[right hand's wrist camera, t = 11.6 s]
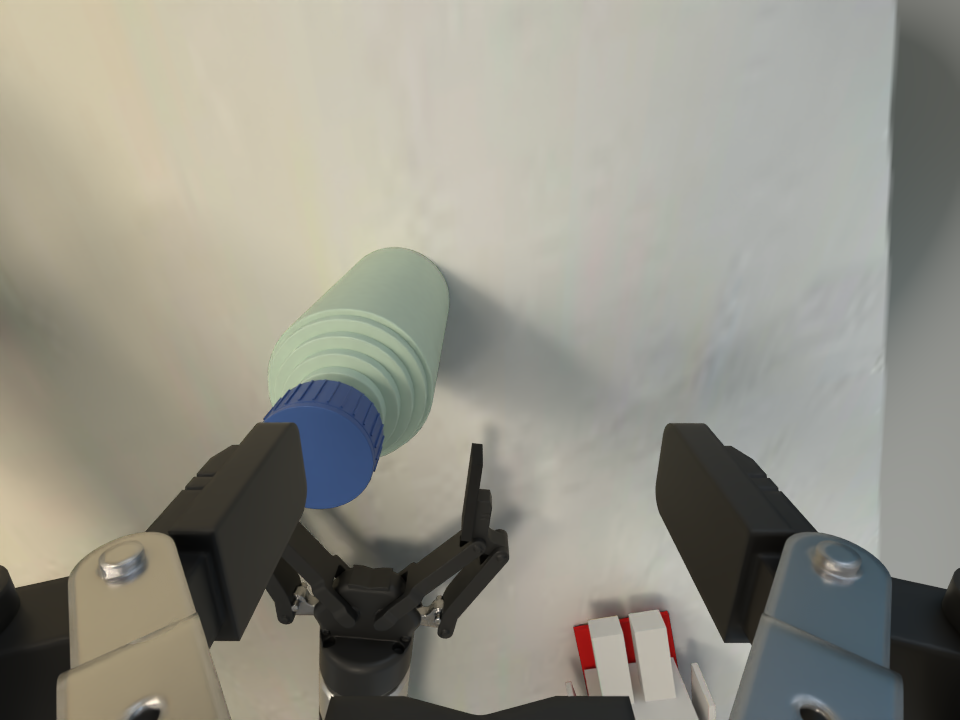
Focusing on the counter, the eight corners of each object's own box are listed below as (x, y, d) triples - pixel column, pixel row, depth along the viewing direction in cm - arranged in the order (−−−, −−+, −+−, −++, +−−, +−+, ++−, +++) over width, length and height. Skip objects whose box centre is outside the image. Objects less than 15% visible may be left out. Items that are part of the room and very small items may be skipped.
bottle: (409, 226, 37) (331, 313, 17) (469, 314, 39) (462, 479, 19) (323, 284, 38) (162, 426, 19) (386, 365, 40) (303, 567, 21)
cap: (338, 356, 20) (321, 381, 17) (407, 442, 21) (399, 475, 19) (249, 414, 20) (223, 444, 18) (321, 493, 22) (305, 529, 20)
